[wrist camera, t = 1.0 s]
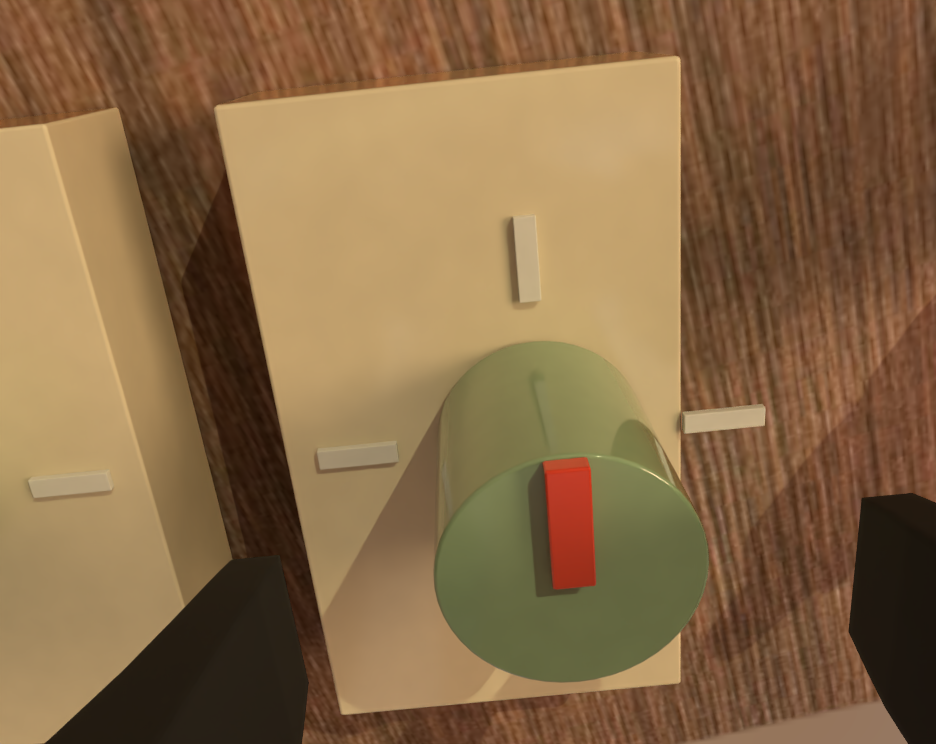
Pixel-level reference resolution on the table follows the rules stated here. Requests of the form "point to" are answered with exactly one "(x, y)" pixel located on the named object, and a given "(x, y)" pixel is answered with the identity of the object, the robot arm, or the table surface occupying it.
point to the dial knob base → (449, 313)
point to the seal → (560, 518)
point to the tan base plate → (88, 427)
